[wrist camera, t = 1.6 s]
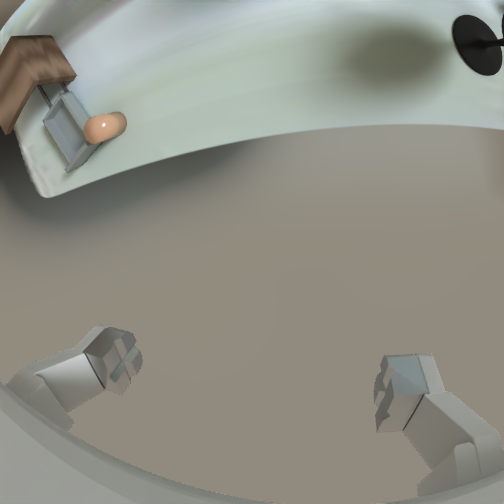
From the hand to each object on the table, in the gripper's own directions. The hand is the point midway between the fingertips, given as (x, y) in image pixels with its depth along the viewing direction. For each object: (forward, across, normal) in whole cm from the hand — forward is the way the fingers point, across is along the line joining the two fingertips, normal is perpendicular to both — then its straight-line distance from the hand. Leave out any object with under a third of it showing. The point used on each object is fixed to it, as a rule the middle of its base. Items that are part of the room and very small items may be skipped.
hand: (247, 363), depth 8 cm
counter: (+28, +40, -20) cm, 53 cm away
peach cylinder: (+30, +28, -12) cm, 43 cm away
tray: (+30, +36, -14) cm, 49 cm away
